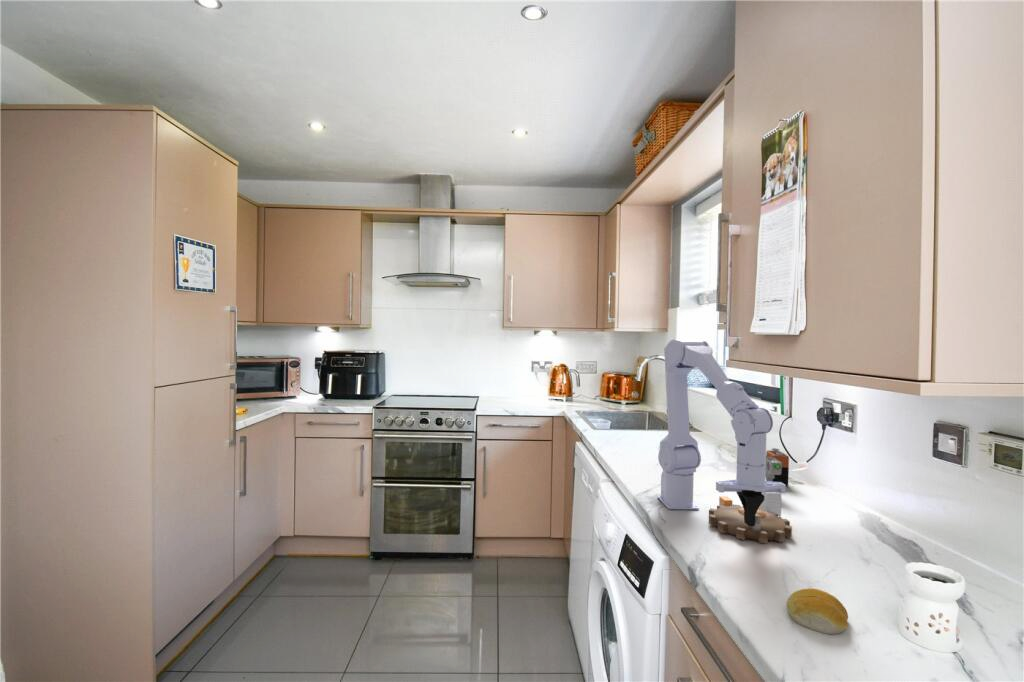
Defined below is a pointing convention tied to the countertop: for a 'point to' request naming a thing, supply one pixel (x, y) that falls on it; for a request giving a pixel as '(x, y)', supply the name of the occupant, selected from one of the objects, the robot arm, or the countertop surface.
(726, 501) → the block
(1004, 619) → the countertop surface
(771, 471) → the mechanical component
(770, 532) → the brown gear wheel
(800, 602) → the bread roll
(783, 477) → the battery
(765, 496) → the white banded box
